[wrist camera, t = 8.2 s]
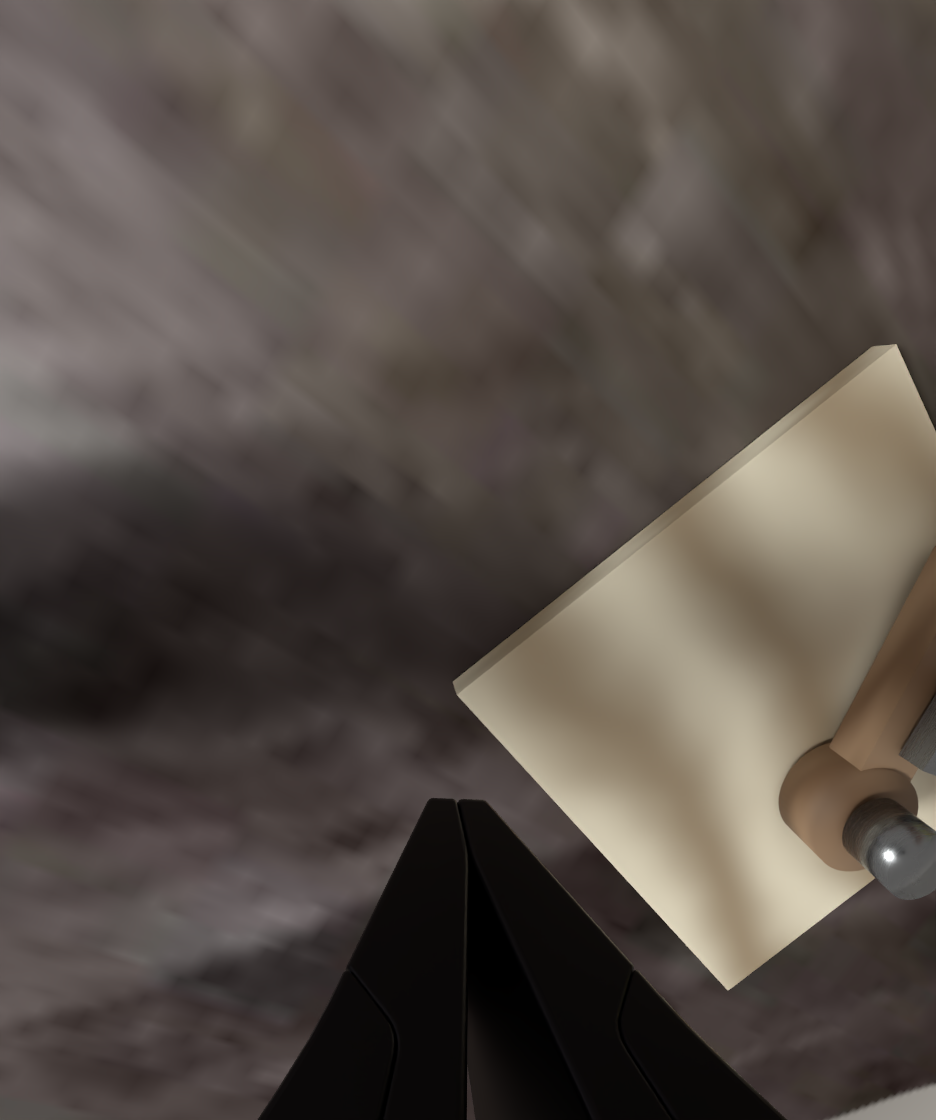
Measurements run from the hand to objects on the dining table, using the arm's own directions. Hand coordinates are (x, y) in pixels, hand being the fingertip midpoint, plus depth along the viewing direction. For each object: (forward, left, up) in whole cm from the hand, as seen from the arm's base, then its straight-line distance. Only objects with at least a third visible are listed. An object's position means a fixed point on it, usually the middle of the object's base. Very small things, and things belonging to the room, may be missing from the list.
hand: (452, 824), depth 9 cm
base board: (+8, -14, -12) cm, 21 cm away
